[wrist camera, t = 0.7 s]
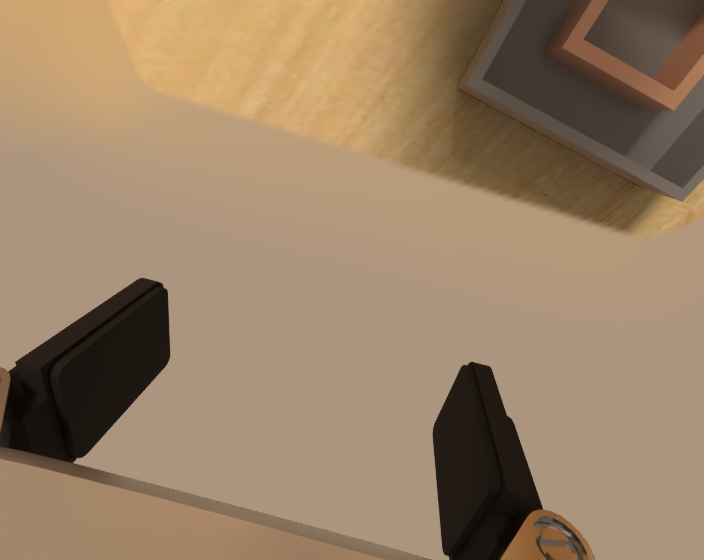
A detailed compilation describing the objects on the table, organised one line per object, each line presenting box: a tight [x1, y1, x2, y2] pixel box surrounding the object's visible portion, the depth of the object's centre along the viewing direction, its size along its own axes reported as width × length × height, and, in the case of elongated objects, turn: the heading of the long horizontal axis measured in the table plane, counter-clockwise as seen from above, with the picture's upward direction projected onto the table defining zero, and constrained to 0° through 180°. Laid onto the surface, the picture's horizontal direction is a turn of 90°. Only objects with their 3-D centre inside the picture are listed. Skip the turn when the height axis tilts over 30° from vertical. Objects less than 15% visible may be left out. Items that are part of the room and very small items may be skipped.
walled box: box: [457, 0, 704, 202], centre depth 26 cm, size 20×20×6 cm
